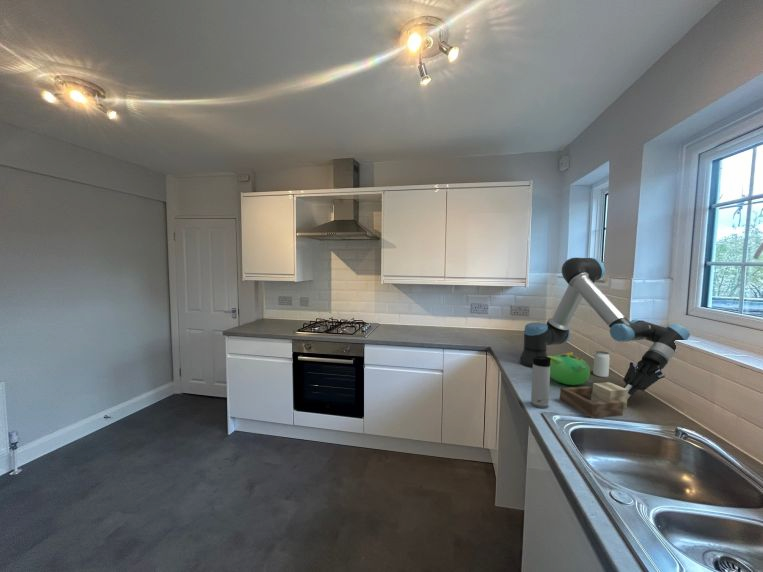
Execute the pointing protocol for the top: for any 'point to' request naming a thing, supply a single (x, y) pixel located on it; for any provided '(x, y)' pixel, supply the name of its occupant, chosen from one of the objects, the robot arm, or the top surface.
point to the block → (609, 393)
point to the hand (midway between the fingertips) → (621, 398)
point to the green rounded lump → (569, 369)
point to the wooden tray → (581, 402)
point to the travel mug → (540, 382)
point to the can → (601, 364)
